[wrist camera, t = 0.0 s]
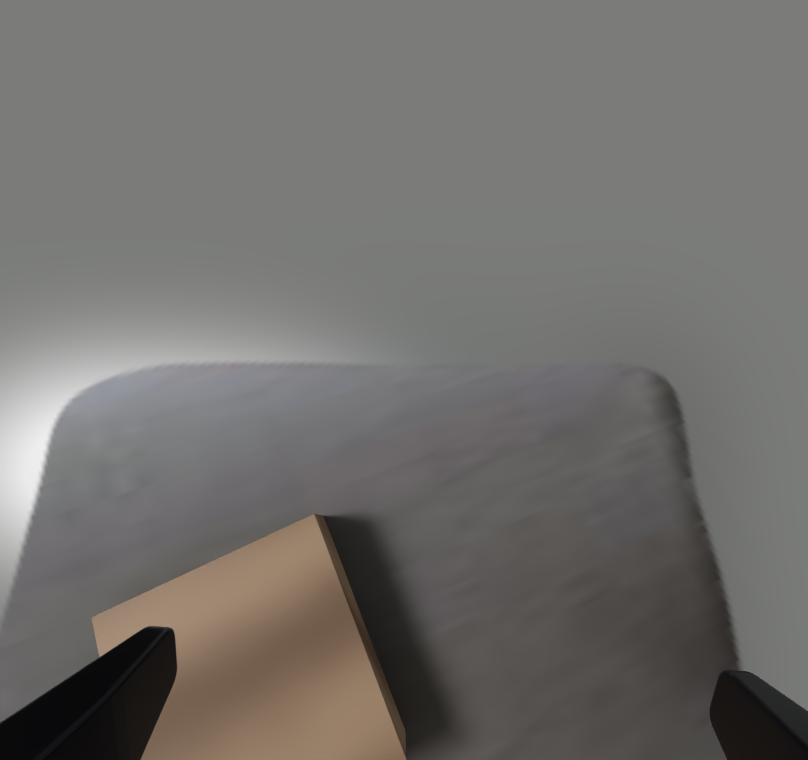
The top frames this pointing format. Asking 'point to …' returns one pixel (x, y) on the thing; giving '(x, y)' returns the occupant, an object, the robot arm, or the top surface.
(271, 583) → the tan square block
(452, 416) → the top surface
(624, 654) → the top surface
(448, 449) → the top surface
